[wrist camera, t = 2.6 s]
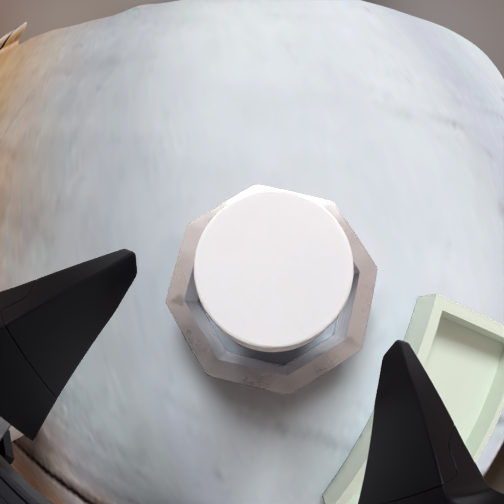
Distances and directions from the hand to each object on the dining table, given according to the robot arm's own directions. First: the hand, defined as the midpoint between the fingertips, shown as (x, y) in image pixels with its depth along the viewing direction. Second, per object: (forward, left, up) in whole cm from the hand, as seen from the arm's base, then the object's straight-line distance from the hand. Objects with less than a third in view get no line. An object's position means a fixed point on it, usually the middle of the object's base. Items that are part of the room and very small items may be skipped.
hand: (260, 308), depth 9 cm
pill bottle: (+1, +1, -9) cm, 9 cm away
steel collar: (+1, +1, -9) cm, 9 cm away
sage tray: (+6, -14, -9) cm, 18 cm away
